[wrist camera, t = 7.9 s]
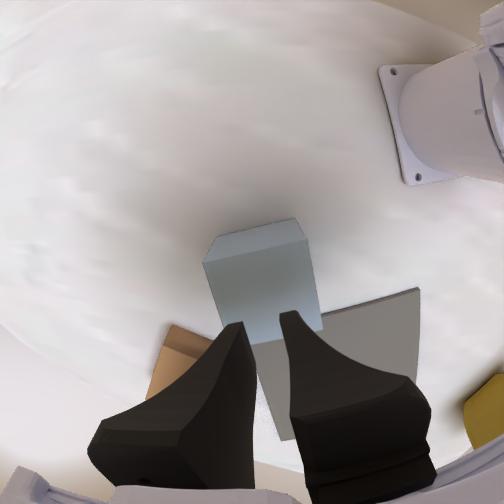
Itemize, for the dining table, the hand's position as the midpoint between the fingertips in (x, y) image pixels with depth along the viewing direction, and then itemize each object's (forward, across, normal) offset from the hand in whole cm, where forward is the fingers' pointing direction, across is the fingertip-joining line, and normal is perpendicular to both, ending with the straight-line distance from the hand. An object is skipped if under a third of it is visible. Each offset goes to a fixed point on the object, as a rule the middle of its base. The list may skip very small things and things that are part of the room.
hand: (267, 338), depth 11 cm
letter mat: (+8, -4, +11) cm, 14 cm away
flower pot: (+9, -21, +22) cm, 32 cm away
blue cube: (+8, 0, 0) cm, 8 cm away
